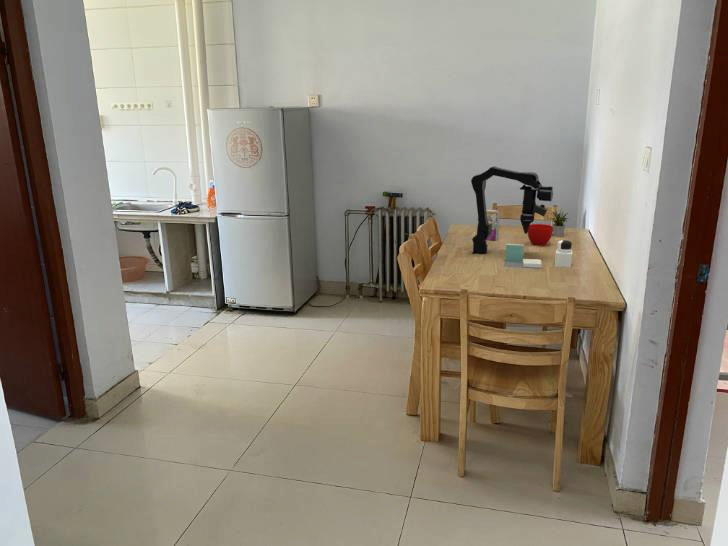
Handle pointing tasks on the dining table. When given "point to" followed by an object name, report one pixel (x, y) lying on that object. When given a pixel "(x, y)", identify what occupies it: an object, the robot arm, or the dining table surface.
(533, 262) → the flat tile
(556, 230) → the house plant
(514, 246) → the tile
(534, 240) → the ceramic cup
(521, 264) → the mat
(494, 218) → the candy bar box
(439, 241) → the dining table surface
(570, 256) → the medicine bottle
